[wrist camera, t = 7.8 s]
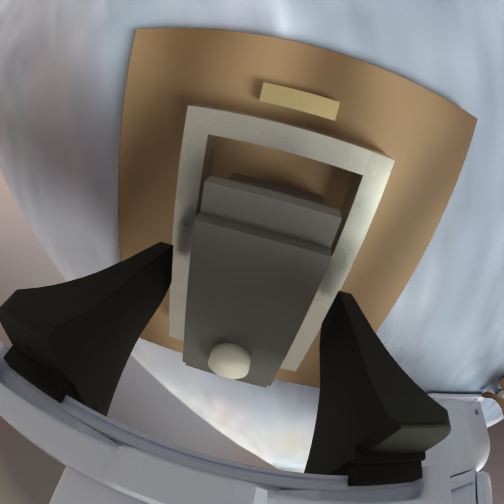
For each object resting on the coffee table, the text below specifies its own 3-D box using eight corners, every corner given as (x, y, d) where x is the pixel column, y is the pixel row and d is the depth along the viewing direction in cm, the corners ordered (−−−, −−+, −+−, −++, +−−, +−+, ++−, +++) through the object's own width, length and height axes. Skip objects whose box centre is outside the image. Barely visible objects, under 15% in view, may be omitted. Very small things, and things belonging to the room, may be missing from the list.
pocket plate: (467, 116, 9) (495, 123, 7) (331, 379, 20) (331, 406, 18) (146, 32, 10) (118, 24, 8) (134, 324, 21) (120, 347, 18)
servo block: (329, 175, 11) (346, 236, 7) (276, 323, 16) (263, 406, 12) (238, 151, 12) (190, 194, 7) (210, 305, 16) (178, 382, 12)
